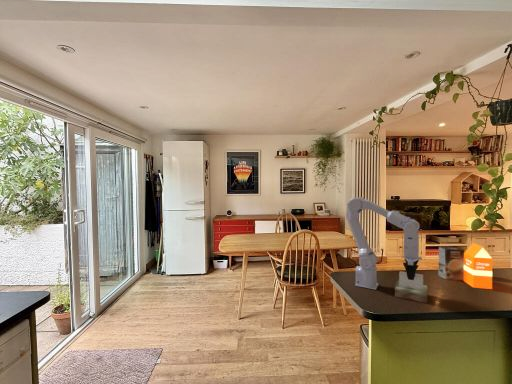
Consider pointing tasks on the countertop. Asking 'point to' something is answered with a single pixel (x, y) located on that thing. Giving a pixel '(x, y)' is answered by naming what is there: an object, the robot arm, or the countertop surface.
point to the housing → (411, 281)
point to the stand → (411, 293)
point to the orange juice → (478, 267)
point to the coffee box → (451, 263)
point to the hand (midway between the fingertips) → (411, 276)
